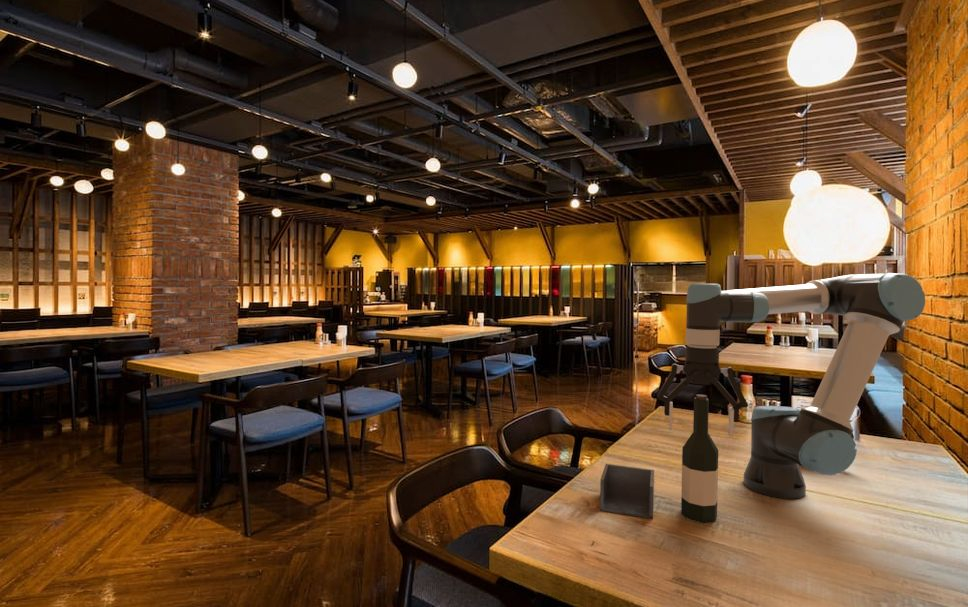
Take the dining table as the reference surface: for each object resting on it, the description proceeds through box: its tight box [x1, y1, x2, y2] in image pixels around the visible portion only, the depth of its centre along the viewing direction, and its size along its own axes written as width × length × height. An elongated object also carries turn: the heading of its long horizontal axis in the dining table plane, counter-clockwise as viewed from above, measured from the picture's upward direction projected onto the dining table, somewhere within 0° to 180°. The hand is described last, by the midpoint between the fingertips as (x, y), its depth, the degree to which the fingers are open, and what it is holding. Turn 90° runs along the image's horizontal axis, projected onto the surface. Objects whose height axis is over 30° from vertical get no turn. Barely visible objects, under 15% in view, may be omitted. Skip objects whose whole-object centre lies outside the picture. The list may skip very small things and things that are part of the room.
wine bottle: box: [680, 394, 719, 524], centre depth 119 cm, size 8×8×30 cm
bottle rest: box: [599, 463, 655, 520], centre depth 125 cm, size 13×12×8 cm
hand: (700, 431), depth 119 cm, fingers open, 13 cm apart
